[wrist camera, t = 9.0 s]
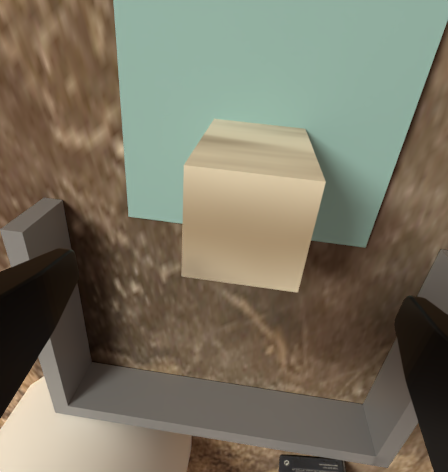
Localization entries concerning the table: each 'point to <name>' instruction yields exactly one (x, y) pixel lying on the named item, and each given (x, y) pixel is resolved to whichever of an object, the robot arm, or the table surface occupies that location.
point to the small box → (310, 464)
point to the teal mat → (274, 91)
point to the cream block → (250, 205)
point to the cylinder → (83, 442)
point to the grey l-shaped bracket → (212, 392)
